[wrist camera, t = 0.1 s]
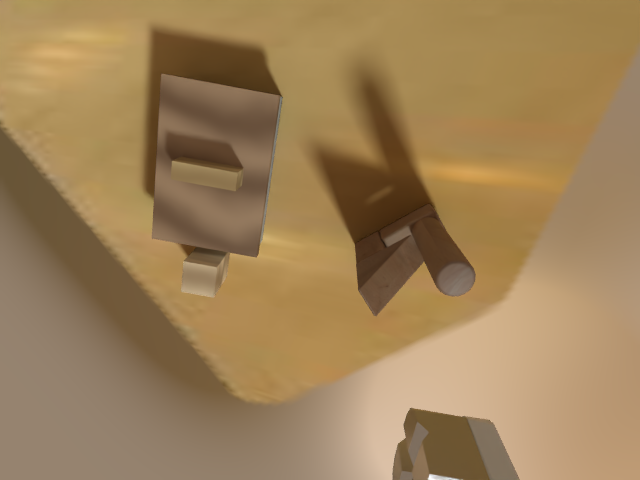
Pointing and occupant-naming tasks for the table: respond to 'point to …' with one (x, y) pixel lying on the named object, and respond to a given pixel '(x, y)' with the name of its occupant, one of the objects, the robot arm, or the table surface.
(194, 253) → the beige block
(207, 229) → the lid
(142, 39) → the table surface
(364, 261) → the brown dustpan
